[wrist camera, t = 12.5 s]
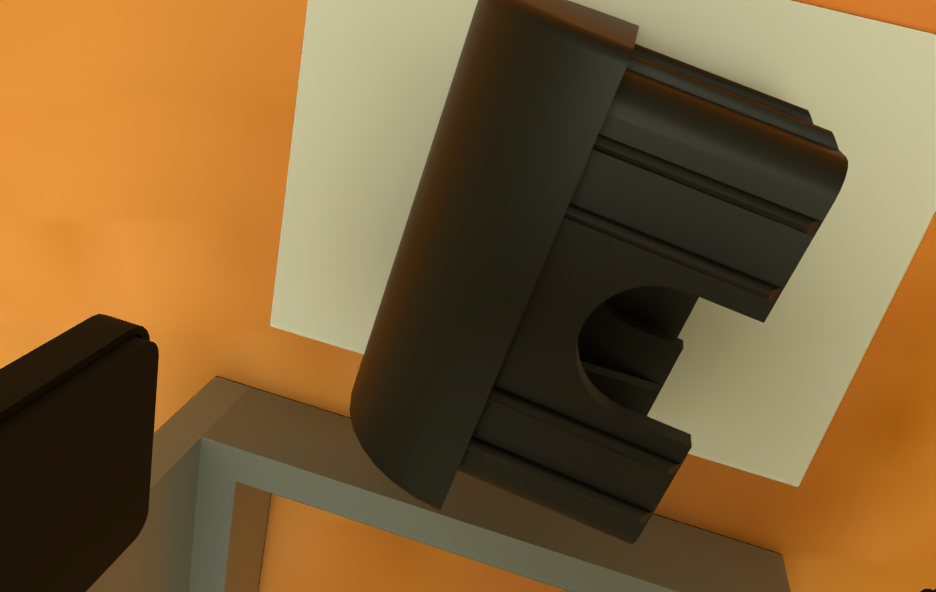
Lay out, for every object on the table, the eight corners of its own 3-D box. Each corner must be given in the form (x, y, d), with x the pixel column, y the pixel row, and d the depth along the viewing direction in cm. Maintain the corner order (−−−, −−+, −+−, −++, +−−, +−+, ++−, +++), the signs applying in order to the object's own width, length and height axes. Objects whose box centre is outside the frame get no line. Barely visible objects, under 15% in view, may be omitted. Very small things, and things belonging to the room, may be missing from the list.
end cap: (518, -24, 18) (450, -21, 12) (803, 86, 18) (882, 146, 12) (398, 327, 23) (305, 459, 16) (626, 422, 22) (616, 594, 16)
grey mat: (1002, 50, 17) (1014, 53, 17) (794, 474, 22) (798, 487, 22) (330, -109, 19) (321, -111, 18) (278, 317, 24) (270, 326, 24)
